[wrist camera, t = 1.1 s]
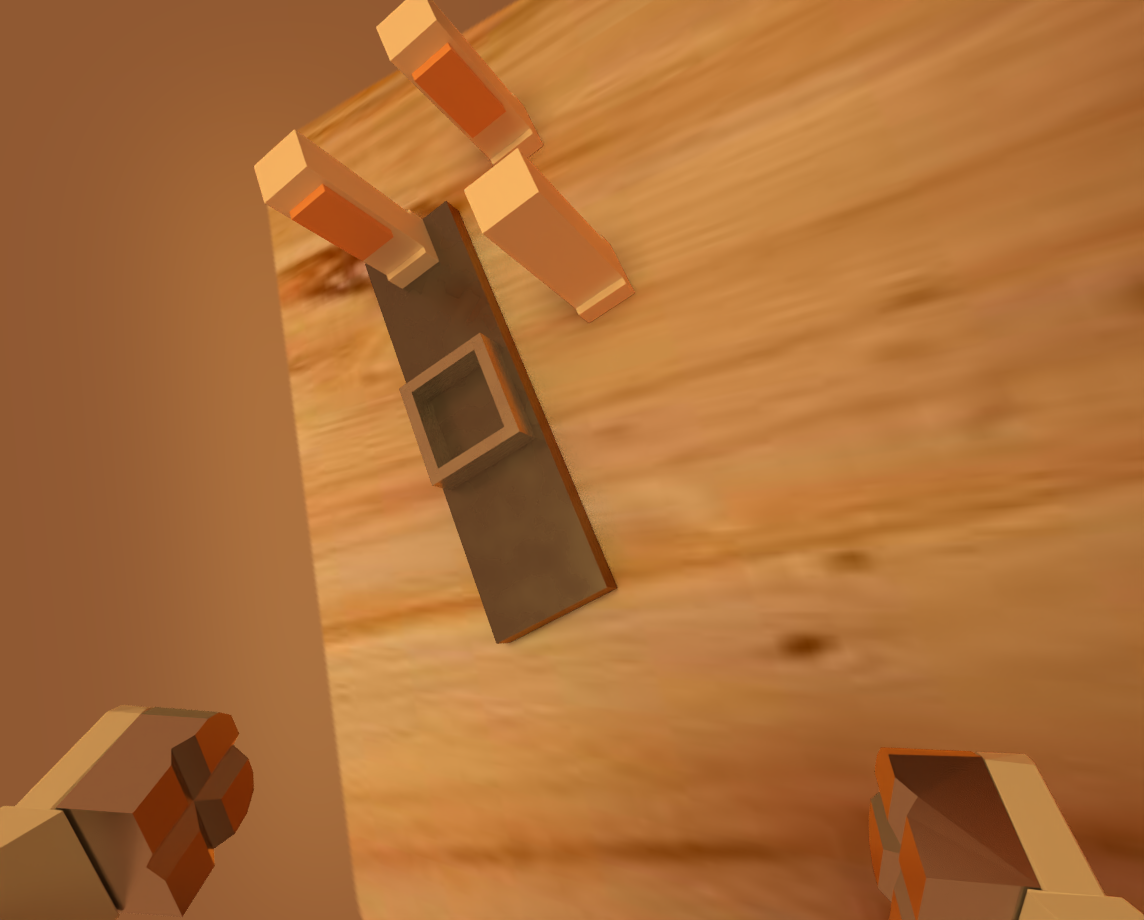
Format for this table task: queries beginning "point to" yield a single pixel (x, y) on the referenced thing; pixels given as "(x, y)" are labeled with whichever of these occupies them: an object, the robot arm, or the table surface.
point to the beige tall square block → (547, 236)
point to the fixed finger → (344, 209)
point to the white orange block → (457, 79)
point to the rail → (489, 440)
